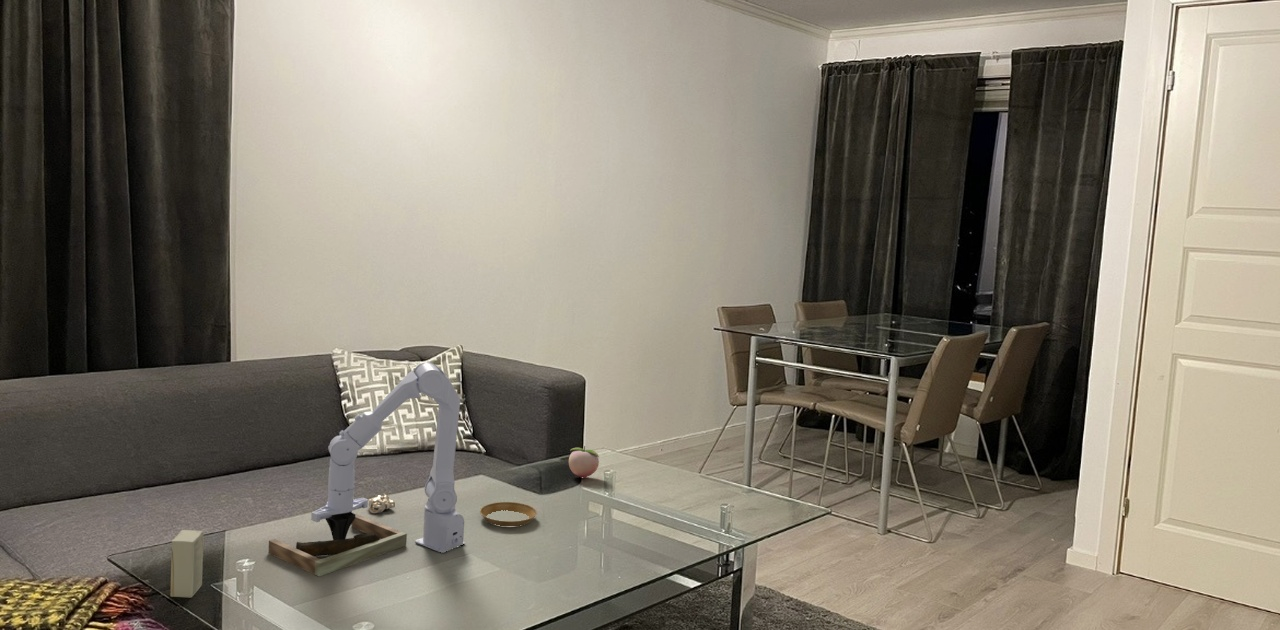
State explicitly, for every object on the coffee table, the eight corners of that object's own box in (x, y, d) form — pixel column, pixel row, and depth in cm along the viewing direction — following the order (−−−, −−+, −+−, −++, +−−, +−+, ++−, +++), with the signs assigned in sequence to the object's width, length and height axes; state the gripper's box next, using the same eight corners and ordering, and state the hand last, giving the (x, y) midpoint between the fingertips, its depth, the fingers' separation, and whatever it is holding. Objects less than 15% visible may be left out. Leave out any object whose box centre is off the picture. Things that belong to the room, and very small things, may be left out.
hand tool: (296, 563, 221) (297, 543, 221) (295, 555, 225) (295, 536, 224) (382, 556, 229) (383, 537, 228) (379, 549, 232) (380, 531, 232)
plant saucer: (468, 523, 254) (468, 513, 254) (498, 507, 268) (498, 497, 267) (518, 535, 249) (518, 525, 248) (546, 518, 262) (546, 508, 262)
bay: (406, 545, 236) (406, 533, 235) (319, 576, 215) (319, 563, 215) (356, 525, 246) (356, 514, 245) (268, 553, 225) (268, 540, 225)
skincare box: (181, 584, 206) (182, 528, 204) (203, 585, 206) (204, 530, 205) (169, 597, 200) (170, 540, 198) (192, 598, 200) (193, 541, 198)
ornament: (390, 516, 254) (391, 502, 254) (363, 514, 254) (364, 500, 254) (398, 505, 262) (399, 492, 262) (372, 503, 262) (373, 490, 262)
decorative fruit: (563, 480, 294) (565, 448, 292) (570, 472, 302) (572, 440, 300) (594, 484, 292) (596, 452, 291) (600, 476, 300) (602, 444, 299)
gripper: (354, 476, 236) (352, 530, 238) (303, 490, 224) (301, 546, 226) (374, 484, 232) (372, 538, 234) (323, 497, 221) (321, 555, 223)
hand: (338, 543), depth 230 cm, fingers closed
